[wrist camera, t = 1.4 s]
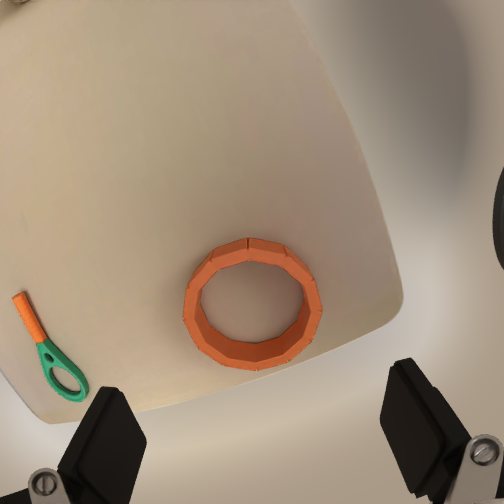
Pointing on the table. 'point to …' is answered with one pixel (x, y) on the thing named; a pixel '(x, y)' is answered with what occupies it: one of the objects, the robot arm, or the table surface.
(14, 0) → the flower pot
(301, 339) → the ring
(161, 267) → the table surface
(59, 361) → the magnifying glass
